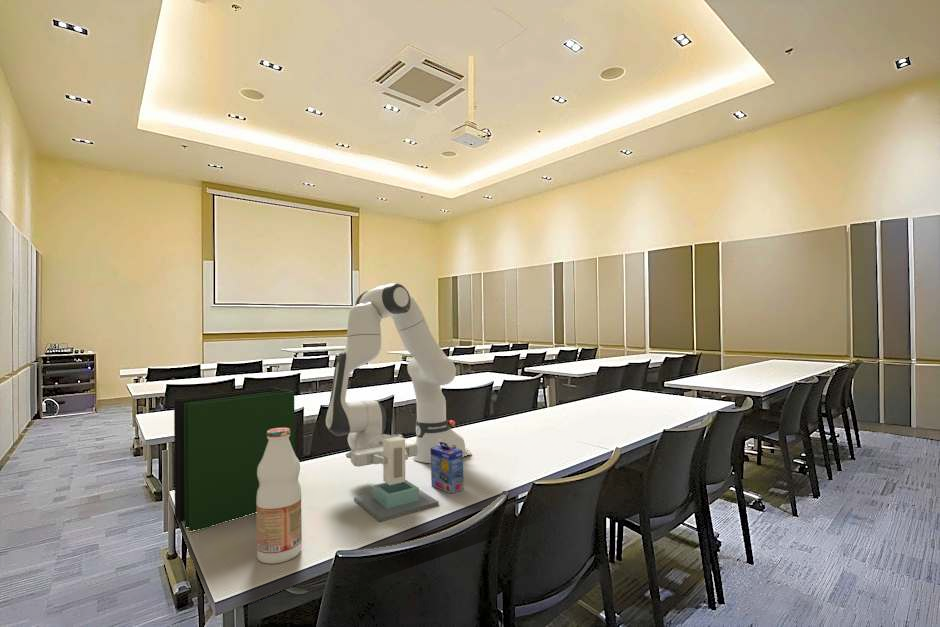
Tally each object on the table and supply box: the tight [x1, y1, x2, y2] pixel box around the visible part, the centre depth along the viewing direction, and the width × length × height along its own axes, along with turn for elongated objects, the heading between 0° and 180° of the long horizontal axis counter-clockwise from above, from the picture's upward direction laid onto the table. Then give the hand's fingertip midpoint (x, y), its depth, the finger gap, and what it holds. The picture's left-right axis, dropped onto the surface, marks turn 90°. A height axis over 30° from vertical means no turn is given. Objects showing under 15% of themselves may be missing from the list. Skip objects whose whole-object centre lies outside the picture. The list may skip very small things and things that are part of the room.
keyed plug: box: [382, 437, 406, 485], centre depth 132 cm, size 5×5×12 cm
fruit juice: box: [256, 428, 303, 565], centre depth 104 cm, size 9×9×28 cm
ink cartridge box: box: [430, 442, 465, 494], centre depth 144 cm, size 10×6×14 cm, turn 44°
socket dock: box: [353, 479, 440, 522], centre depth 133 cm, size 18×18×4 cm
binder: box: [173, 386, 296, 532], centre depth 130 cm, size 27×15×32 cm, turn 137°
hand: (395, 459), depth 132 cm, fingers closed on keyed plug, 5 cm apart
